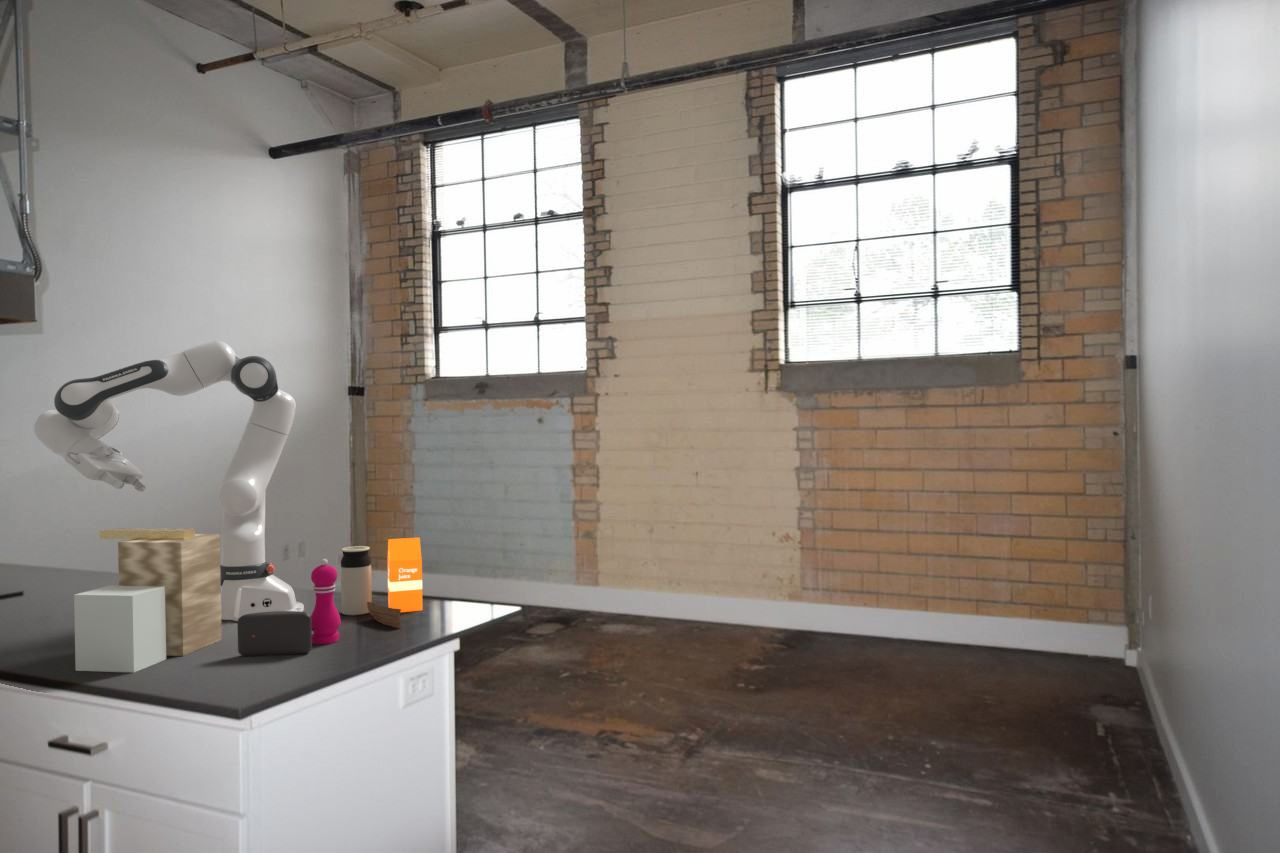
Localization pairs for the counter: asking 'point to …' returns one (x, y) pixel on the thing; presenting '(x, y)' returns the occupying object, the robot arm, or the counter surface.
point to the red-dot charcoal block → (274, 633)
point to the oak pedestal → (179, 585)
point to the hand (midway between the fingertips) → (132, 487)
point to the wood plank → (385, 614)
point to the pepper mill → (324, 605)
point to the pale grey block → (120, 628)
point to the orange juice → (405, 574)
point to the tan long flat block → (146, 533)
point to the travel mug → (355, 580)
